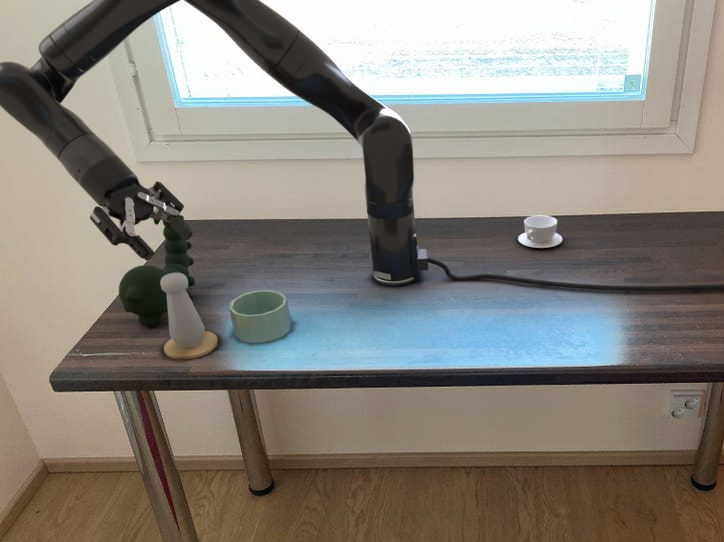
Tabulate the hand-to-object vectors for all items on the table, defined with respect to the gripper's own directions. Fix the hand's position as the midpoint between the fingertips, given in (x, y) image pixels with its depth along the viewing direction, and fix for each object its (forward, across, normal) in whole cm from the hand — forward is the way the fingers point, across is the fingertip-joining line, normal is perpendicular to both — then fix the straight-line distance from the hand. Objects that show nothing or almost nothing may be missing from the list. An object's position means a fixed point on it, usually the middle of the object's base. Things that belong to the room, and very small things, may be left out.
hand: (170, 247), depth 121 cm
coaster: (+13, 0, +14) cm, 19 cm away
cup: (+18, +9, +8) cm, 22 cm away
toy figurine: (+3, +9, +24) cm, 26 cm away
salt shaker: (+12, 0, +14) cm, 18 cm away
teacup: (+42, +66, -14) cm, 80 cm away
